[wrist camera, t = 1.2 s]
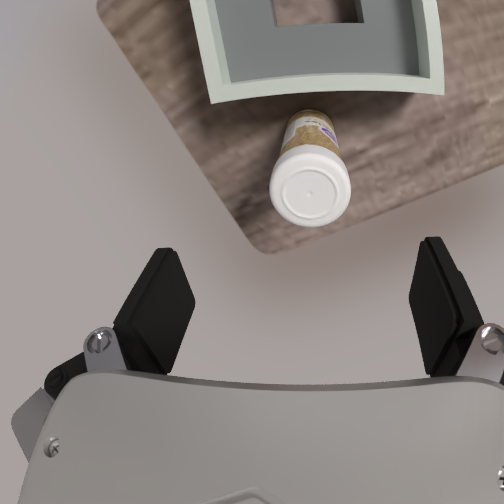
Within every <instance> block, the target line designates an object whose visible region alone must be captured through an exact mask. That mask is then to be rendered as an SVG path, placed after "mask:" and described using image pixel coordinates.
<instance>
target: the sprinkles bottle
mask: <svg viewBox="0 0 504 504" xmlns="http://www.w3.org/2000/svg"><path fill="white" fill-rule="evenodd" d="M269 192H270V198H271V201H272V204H273V206H274V207H275V209H276V210H277V212H278V213H279V214H280V215H281V216H282V217H283V218H285V219H286V220H288V221H289V222H291V223H293V224H296V225H299V226H304V227H319V226H323V225H326V224H329V223H331V222H333V221H334V220H336V219H337V218H338V217H339V216H340V215H341V214H342V213H343V212H344V211H345V209H346V208H347V206H348V203H349V200H350V196H351V185H350V180H349V175H348V172H347V169H346V167H345V165H344V163H343V162H342V160H341V158H340V154H339V147H338V143H337V139H336V136H335V131H334V127H333V124H332V122H331V120H330V119H329V118H328V117H327V116H326V115H325V114H324V113H322V112H320V111H318V110H313V109H306V110H301V111H299V112H297V113H295V114H294V115H293V116H292V117H291V118H290V119H289V122H288V123H287V126H286V132H285V136H284V140H283V144H282V147H281V151H280V155H279V159H278V160H277V162H276V164H275V166H274V168H273V171H272V175H271V179H270V185H269Z"/></svg>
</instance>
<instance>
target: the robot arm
mask: <svg viewBox="0 0 504 504" xmlns="http://www.w3.org/2000/svg"><path fill="white" fill-rule="evenodd" d="M409 303H410V307H411V311H412V315H413V318H414V322H415V326H416V330H417V334H418V338H419V343H420V348H421V352H422V357H423V362H424V367H425V371H426V374H427V375H429V374H430V377H431V378H423V379H414V380H401V381H389V382H375V383H359V384H332V385H284V384H283V385H282V384H257V383H240V382H226V381H213V380H203V379H193V378H185V377H177V376H168V375H167V373H170V372H171V370H172V368H173V365H174V362H175V359H176V356H177V354H178V351H179V348H180V345H181V342H182V340H183V337H184V334H185V332H186V329H187V326H188V324H189V321H190V318H191V316H192V313H193V310H194V308H195V298H194V295H193V293H192V290H191V288H190V285H189V283H188V280H187V278H186V275H185V272H184V270H183V267H182V265H181V262H180V259H179V257H178V254H177V252H176V251H173V249H172V248H158V249H156V251H155V252H154V254H153V255H152V257H151V258H150V260H149V262H148V263H147V265H146V267H145V268H144V270H143V272H142V273H141V275H140V277H139V278H138V280H137V282H136V284H135V285H134V287H133V288H132V290H131V292H130V294H129V295H128V297H127V299H126V300H125V302H124V304H123V306H122V308H121V310H120V311H119V313H118V315H117V316H116V318H115V321H114V322H113V323H114V327H113V328H112V329H111V328H109V327H101V328H98V329H96V330H94V331H93V332H91V333H90V334H89V335H88V337H87V338H86V340H85V342H84V346H83V347H84V352H82V353H80V354H79V355H77V356H75V357H74V358H72V359H70V360H68V361H66V362H65V363H63V364H61V365H59V366H58V367H56V368H54V369H53V370H51V371H50V373H49V374H48V375H47V377H46V379H45V383H44V389H42V388H41V387H40V388H39V390H37V391H36V392H35V393H34V394H33V395H32V396H31V397H30V398H29V399H28V400H27V401H26V402H25V403H24V404H23V405H22V406H21V407H20V408H19V409H17V410H16V412H15V413H14V414H13V417H12V421H11V425H12V429H13V431H14V433H15V436H16V438H17V440H18V442H19V444H20V446H21V448H22V450H23V452H24V454H25V456H26V458H27V460H28V462H29V465H28V468H27V472H26V475H25V478H24V481H23V485H22V489H21V493H20V496H19V500H18V504H504V328H502V327H501V326H499V325H496V324H494V323H487V324H484V322H483V320H482V317H481V314H480V312H479V310H478V307H477V305H476V303H475V300H474V298H473V296H472V294H471V291H470V289H469V287H468V285H467V283H466V281H465V279H464V276H463V274H462V273H461V272H460V271H458V269H457V267H456V265H455V263H454V262H453V259H452V258H451V256H450V254H449V252H448V250H447V248H446V246H445V244H444V243H443V241H442V239H441V238H440V237H426V238H425V240H424V241H421V242H420V246H419V251H418V257H417V261H416V266H415V271H414V276H413V280H412V284H411V288H410V292H409Z"/></svg>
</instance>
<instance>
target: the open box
mask: <svg viewBox="0 0 504 504" xmlns="http://www.w3.org/2000/svg"><path fill="white" fill-rule="evenodd" d="M354 3H355V9H356V15H357V21H358V23H322V24H304V25H292V26H282V27H278V25H277V20H276V14H275V9H274V4H273V0H190V5H191V10H192V15H193V20H194V25H195V29H196V34H197V39H198V44H199V49H200V54H201V59H202V63H203V68H204V73H205V78H206V82H207V87H208V92H209V97H210V101H211V104H214V103H219V102H225V101H232V100H238V99H245V98H253V97H261V96H269V95H279V94H290V93H303V92H319V91H353V90H367V91H400V92H416V93H428V94H438V95H444V67H443V52H442V40H441V31H440V23H439V15H438V9H437V3H436V0H354Z"/></svg>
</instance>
